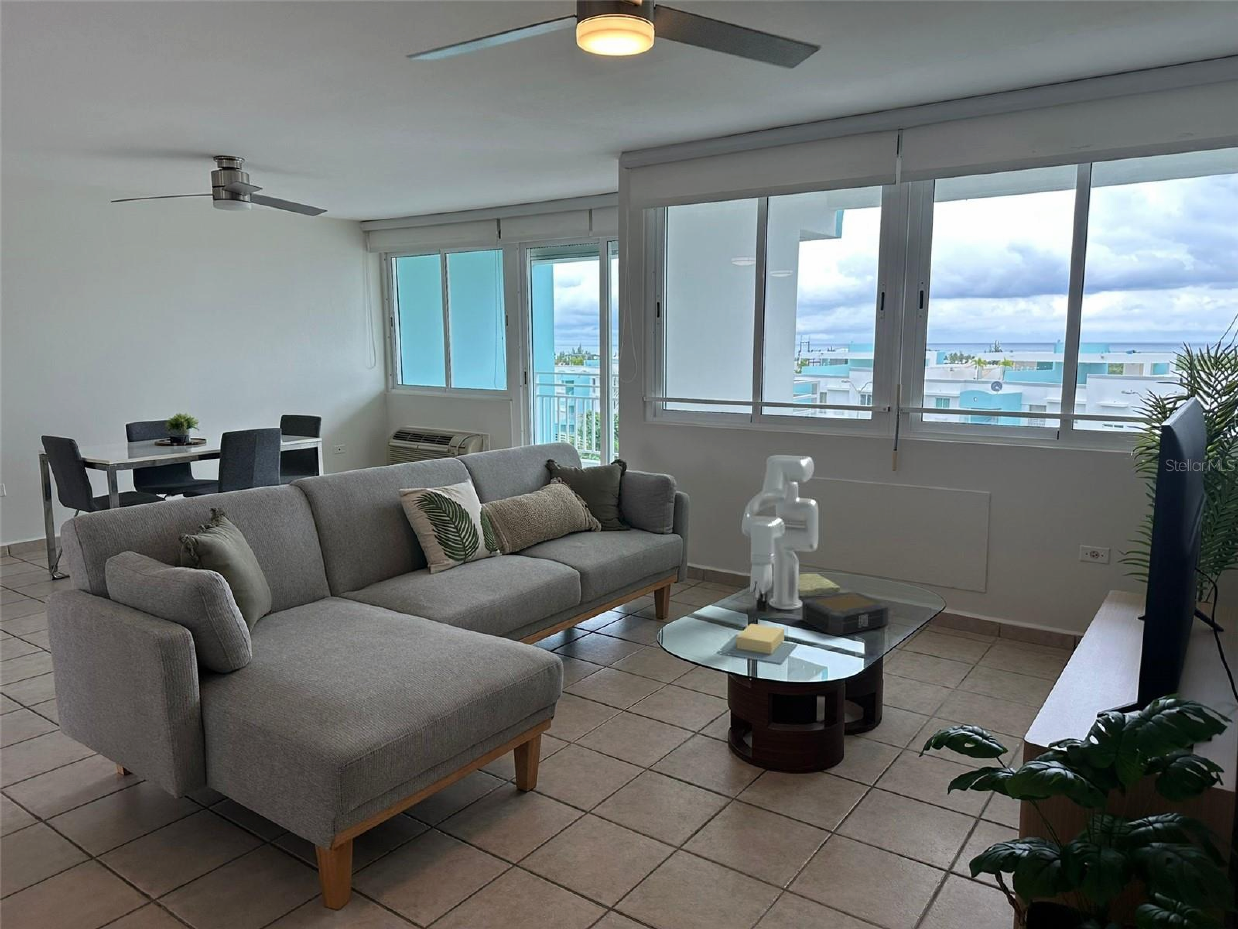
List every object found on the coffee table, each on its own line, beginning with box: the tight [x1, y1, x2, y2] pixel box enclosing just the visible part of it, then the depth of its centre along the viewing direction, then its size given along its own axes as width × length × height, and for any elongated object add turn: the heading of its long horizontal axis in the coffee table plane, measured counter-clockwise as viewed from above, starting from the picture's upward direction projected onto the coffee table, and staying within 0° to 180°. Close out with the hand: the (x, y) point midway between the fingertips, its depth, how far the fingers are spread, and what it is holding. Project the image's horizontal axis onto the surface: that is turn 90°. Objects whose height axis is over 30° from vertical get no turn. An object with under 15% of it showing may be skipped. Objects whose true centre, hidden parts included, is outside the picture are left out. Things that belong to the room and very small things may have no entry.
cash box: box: [801, 590, 890, 636], centre depth 303 cm, size 25×20×8 cm
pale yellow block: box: [737, 623, 785, 654], centre depth 282 cm, size 4×12×14 cm
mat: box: [716, 634, 798, 665], centre depth 279 cm, size 18×22×1 cm
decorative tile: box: [798, 573, 841, 597], centre depth 345 cm, size 19×20×4 cm
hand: (762, 610), depth 282 cm, fingers closed
